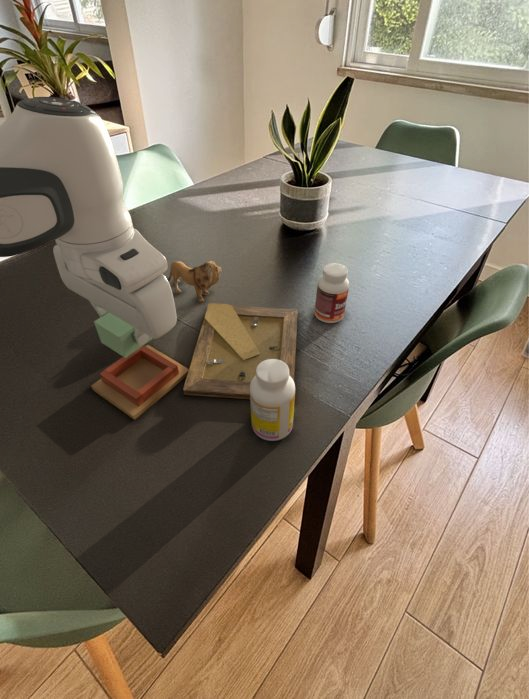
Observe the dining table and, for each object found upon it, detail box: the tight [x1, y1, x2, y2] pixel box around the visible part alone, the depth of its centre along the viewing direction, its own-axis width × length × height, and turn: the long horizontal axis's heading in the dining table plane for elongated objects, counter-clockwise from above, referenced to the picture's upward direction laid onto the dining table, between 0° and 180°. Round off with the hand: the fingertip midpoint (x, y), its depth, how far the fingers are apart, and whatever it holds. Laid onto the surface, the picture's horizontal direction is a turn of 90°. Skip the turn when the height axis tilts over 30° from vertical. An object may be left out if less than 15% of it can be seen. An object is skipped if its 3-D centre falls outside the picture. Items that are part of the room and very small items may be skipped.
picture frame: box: [182, 302, 298, 400], centre depth 80 cm, size 19×2×24 cm
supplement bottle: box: [249, 359, 296, 442], centre depth 64 cm, size 7×7×13 cm
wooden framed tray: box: [90, 344, 189, 420], centre depth 74 cm, size 13×11×3 cm
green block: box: [93, 313, 154, 358], centre depth 62 cm, size 6×6×4 cm
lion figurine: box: [166, 260, 222, 303], centre depth 91 cm, size 15×5×9 cm, turn 67°
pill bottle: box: [314, 262, 350, 324], centre depth 85 cm, size 6×6×11 cm
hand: (125, 332), depth 62 cm, fingers closed on green block, 5 cm apart
